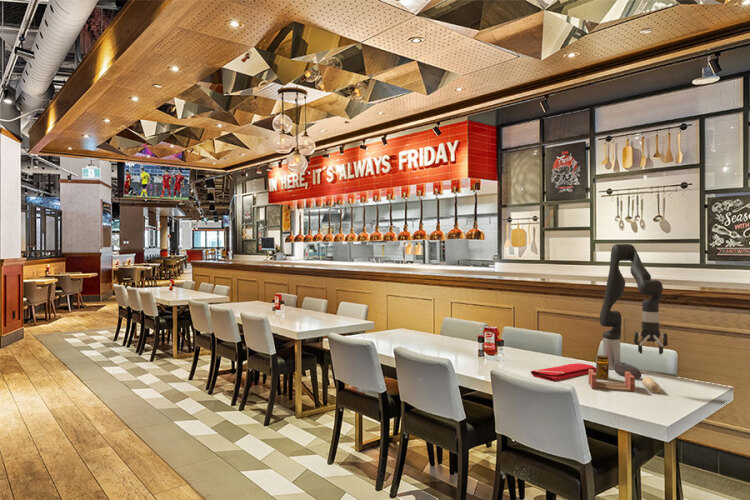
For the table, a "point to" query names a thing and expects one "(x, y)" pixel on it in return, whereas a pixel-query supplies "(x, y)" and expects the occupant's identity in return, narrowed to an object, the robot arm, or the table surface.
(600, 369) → the condiment
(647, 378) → the tan rounded cylinder
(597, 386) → the end holder
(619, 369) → the perforated stone tool
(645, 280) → the robot arm
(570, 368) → the dish drying mat
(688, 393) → the table surface
